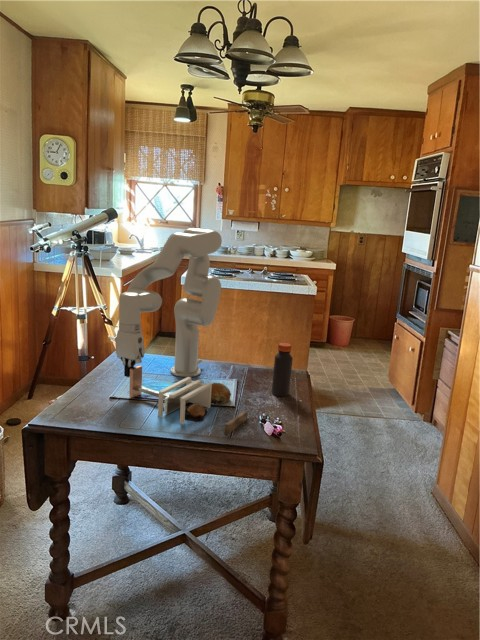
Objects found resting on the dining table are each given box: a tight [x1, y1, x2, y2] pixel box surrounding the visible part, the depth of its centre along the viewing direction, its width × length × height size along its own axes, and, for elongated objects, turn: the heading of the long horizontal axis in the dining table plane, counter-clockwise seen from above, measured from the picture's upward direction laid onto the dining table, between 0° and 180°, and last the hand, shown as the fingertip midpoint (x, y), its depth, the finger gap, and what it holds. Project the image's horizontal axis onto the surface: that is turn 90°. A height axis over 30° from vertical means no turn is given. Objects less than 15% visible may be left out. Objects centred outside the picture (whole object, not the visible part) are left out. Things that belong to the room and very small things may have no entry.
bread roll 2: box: [211, 382, 232, 406], centre depth 175 cm, size 10×10×8 cm
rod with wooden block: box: [128, 365, 190, 415], centre depth 168 cm, size 13×20×11 cm, turn 62°
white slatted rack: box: [157, 377, 213, 425], centre depth 162 cm, size 17×10×9 cm, turn 152°
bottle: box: [271, 342, 293, 398], centre depth 183 cm, size 7×7×20 cm
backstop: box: [223, 410, 248, 435], centre depth 155 cm, size 13×1×3 cm, turn 152°
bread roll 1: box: [185, 403, 209, 423], centre depth 161 cm, size 11×8×4 cm
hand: (128, 375), depth 173 cm, fingers closed
